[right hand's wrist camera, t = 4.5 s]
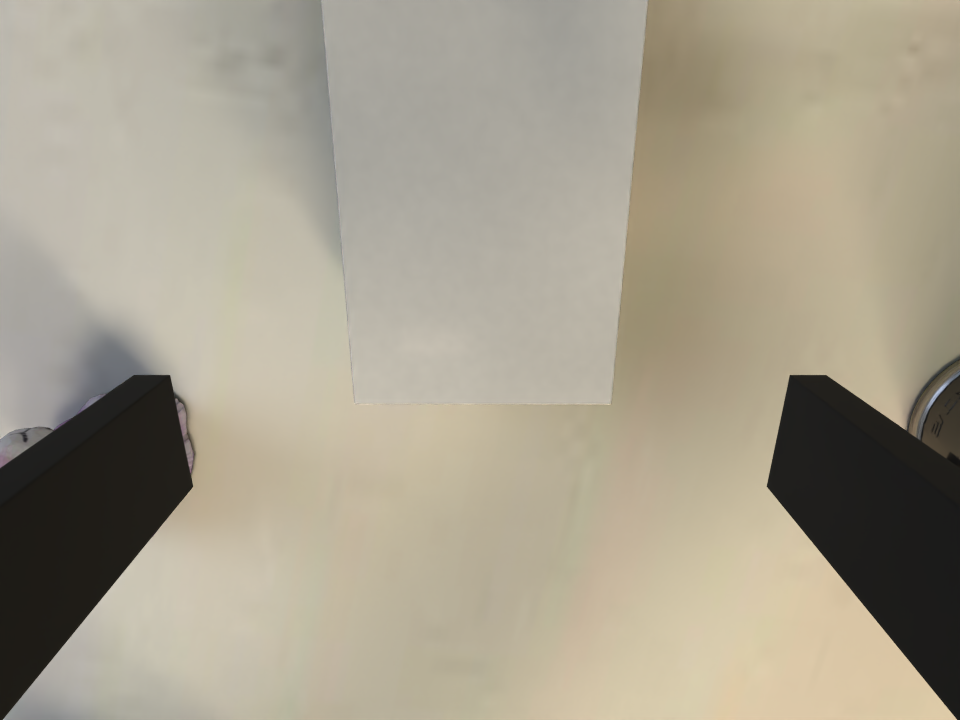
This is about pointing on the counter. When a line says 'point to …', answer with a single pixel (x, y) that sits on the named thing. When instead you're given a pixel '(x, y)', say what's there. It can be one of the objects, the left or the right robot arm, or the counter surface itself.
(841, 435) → the right robot arm
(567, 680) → the counter surface
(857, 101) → the counter surface
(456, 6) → the cabinet
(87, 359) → the counter surface
